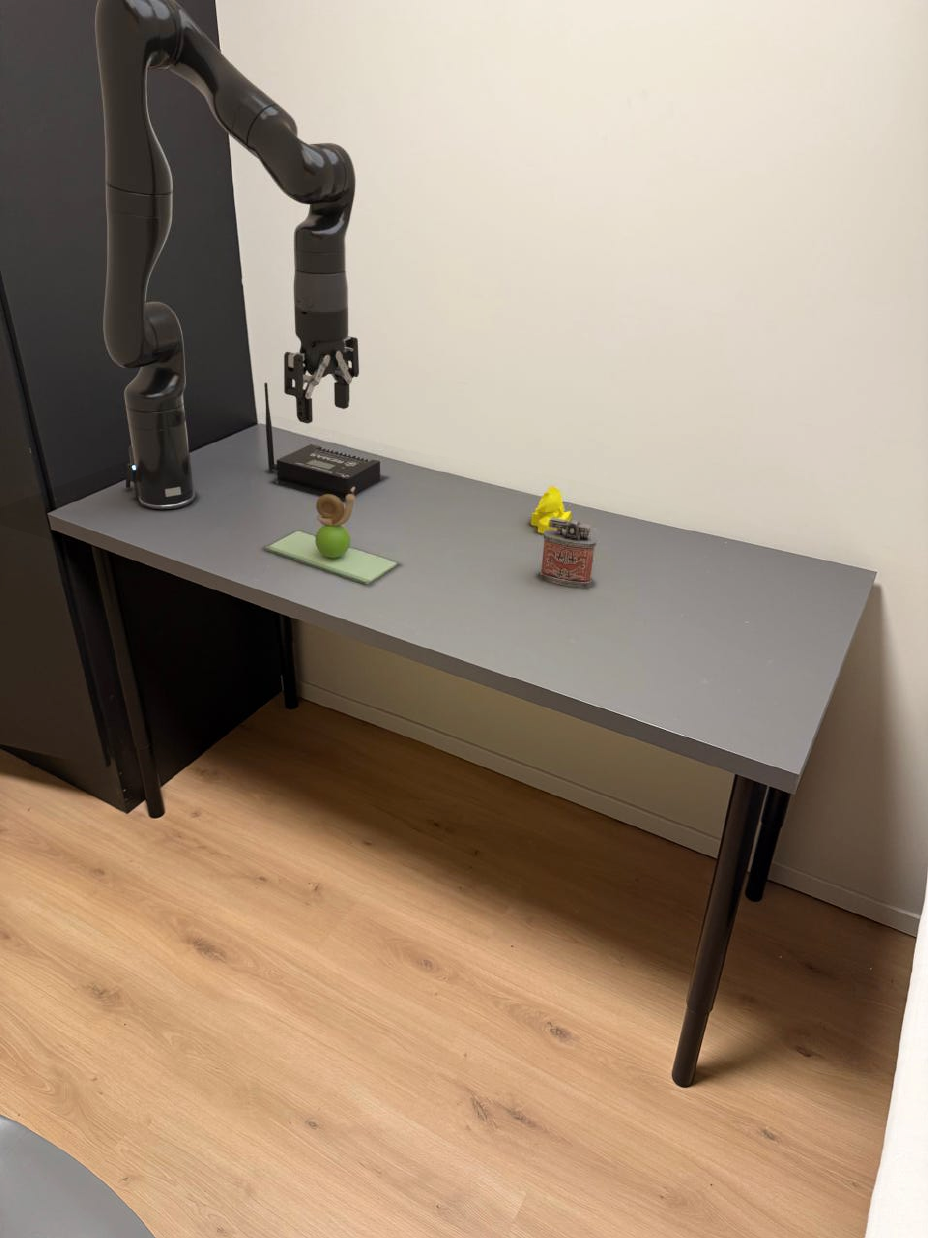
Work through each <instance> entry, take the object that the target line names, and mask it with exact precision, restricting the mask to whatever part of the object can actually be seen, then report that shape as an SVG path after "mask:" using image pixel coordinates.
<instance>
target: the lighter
mask: <svg viewBox="0 0 928 1238" xmlns="http://www.w3.org/2000/svg"><path fill="white" fill-rule="evenodd" d="M549 527H551V528H556V529H557V530H552V529H550V530H546V531H545V532H544V534H543V539H544V540H543V550H542V551H543V552H542V560H541V569H540V571H539V578H540V579H541V580H544V581H546V582H549V583H552V584H557V585H562V586H567V587H573V588H583V589H584V588H589V587H591V585H592V569H593V563H594V554H595V547H596V546H597V538H596V537H594V536H591V535H590V530H591V525H590V524H585V523H580V521H579V520H578V519H572V520H570V522H569V521H566V520H563V519H558V518H551V519H550V523H549ZM562 530H564V531H562Z"/></svg>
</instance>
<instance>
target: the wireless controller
mask: <svg viewBox="0 0 928 1238" xmlns="http://www.w3.org/2000/svg"><path fill="white" fill-rule="evenodd" d="M263 385H264V387H263V388H264V401H265V435H266V452H267V462H268V464H267V465H268V471H273V470H274V471H276V472H277V473H276V474H277V479H276V480H274V481H272V483H273V484H274V485H279V486H282V487H285V488H290V489H293V490H297V491H301V492H304V493H308V494H310V495H311V494H312V495H314V496H318V497H321V496H323V495H325V494H331V495H334V496H336V497H338V498H339V499H340V500H341V501H342V503H344V502H345V501H346V496H347V495H348V494H352V492H351V491H350V490H351V489H352V487H355V490H354V491H353V493H354V496H355V495H358V494H359V493H361V492H362V491H364V490H366V489H368V488H370V487H371V486H373V485H375V484H376V483H378V482H380V481H382V480H383V479H385V477H384V476H381V460H376V459H370V460H369V458H367V459H365V458H364V457H362V458H361V457H360V456H358V457H357V456H356V455H352V456H351V454H348V455H347V453H343V452H340V453H339V451H338V450H337V451H334V449H332V450H330V448H329V449H326V448H322V446H320V445H317V444H312V443H309V444H308V445H306V446H304V447H301V448H299V449H297V450H295V451H293V452H291V453H288V454H286V455H285V456H282V457H280V458H278V459H276V463H275V454H274V452H275V451H274V437H273V425H272V424H273V423H272V417H271V411H270V402H269V401H270V399H269V389H268V388H269V387H268V382H264V383H263Z"/></svg>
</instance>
